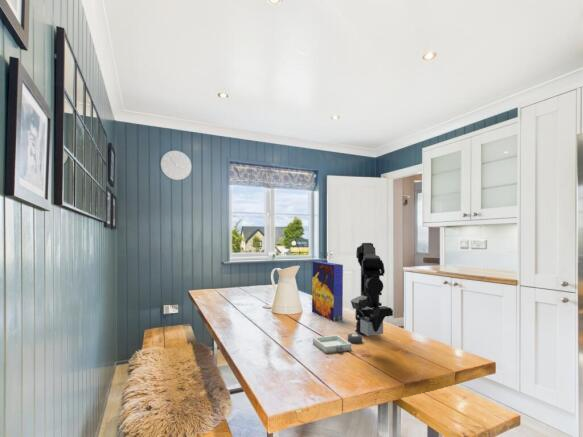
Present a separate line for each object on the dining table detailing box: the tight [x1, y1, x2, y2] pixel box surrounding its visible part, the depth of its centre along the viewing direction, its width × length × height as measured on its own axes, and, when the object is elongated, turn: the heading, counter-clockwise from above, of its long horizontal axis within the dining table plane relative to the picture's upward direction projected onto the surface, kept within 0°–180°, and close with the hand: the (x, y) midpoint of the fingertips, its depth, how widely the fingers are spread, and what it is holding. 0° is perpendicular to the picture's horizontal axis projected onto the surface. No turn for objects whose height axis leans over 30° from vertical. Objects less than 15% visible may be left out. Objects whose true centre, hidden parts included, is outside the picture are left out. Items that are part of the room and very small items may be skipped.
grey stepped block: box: [360, 316, 384, 337], centre depth 126 cm, size 7×5×6 cm
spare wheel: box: [347, 333, 363, 345], centre depth 141 cm, size 6×6×3 cm
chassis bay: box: [312, 334, 352, 354], centre depth 133 cm, size 12×15×2 cm
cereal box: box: [311, 260, 344, 322], centre depth 184 cm, size 22×6×30 cm, turn 28°
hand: (371, 329), depth 126 cm, fingers closed on grey stepped block, 5 cm apart
